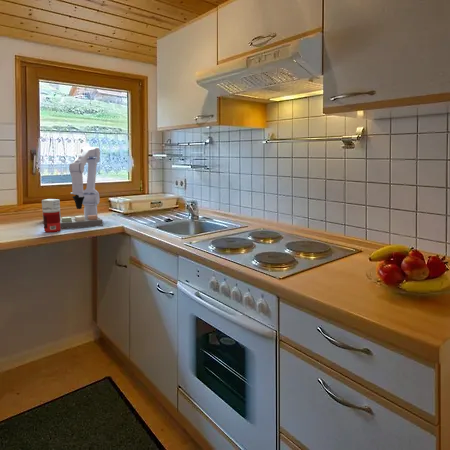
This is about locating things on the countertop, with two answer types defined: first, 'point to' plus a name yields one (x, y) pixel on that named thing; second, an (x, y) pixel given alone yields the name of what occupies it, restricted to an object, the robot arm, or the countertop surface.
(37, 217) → the countertop surface
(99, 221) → the console
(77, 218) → the cream button
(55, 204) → the white canister
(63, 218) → the sage button
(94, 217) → the terracotta button
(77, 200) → the robot arm
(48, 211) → the canned food
